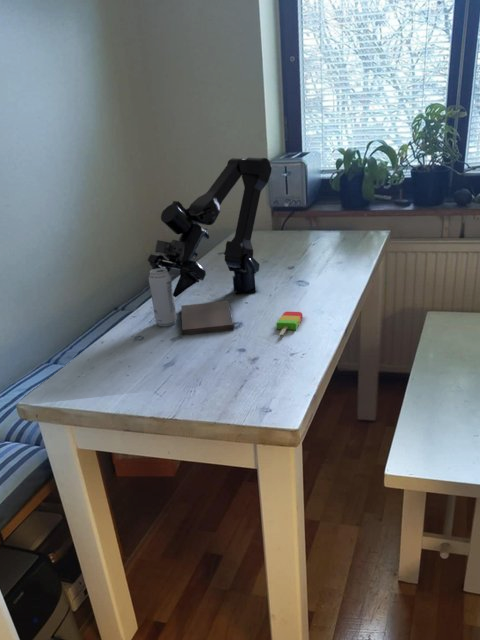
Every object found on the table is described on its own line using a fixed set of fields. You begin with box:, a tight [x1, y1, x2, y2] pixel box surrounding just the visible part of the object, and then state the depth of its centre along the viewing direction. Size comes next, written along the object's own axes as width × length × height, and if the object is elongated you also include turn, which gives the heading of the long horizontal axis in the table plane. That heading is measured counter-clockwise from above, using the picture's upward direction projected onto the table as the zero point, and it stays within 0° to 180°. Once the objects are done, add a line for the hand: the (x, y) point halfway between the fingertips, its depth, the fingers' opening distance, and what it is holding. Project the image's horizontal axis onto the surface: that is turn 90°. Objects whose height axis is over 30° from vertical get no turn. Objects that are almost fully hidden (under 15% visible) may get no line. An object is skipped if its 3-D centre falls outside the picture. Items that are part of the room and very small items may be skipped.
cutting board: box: [180, 300, 235, 336], centre depth 173 cm, size 14×20×2 cm
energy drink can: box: [148, 268, 178, 327], centre depth 169 cm, size 6×6×15 cm
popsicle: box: [275, 311, 303, 336], centre depth 164 cm, size 6×15×2 cm, turn 164°
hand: (163, 293), depth 169 cm, fingers open, 9 cm apart
